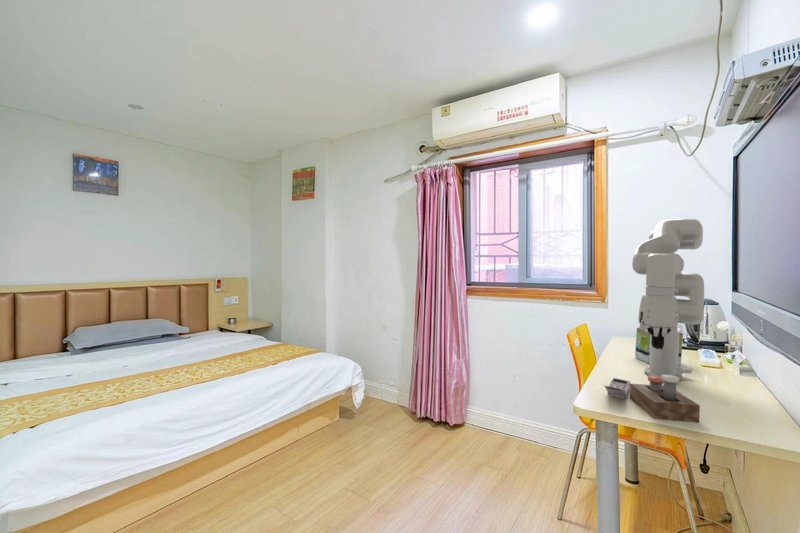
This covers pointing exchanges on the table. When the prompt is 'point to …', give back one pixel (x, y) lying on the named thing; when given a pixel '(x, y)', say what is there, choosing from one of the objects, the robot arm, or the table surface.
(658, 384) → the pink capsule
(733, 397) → the table surface
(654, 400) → the block
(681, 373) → the robot arm
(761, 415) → the table surface
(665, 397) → the white light bulb
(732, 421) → the table surface
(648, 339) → the tea box
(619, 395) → the mobile phone
